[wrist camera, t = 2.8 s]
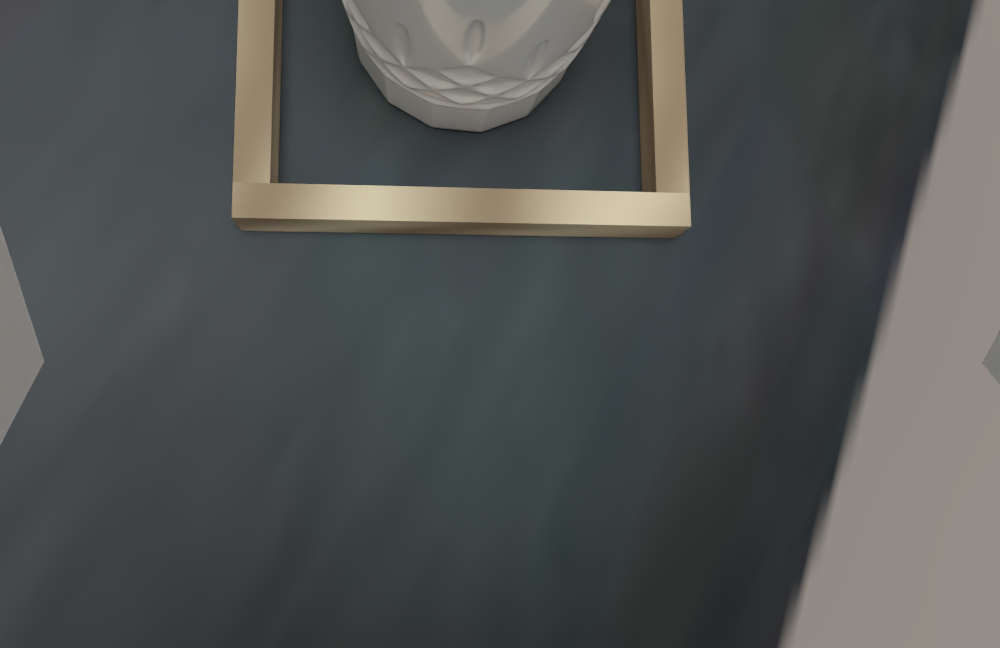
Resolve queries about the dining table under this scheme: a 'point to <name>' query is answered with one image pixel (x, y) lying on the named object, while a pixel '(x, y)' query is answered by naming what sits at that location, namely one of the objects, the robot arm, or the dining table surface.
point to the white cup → (469, 54)
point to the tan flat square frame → (464, 208)
